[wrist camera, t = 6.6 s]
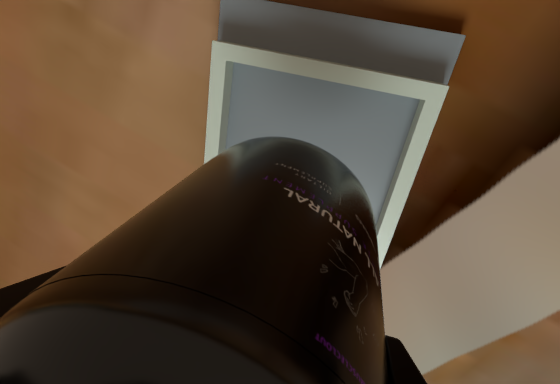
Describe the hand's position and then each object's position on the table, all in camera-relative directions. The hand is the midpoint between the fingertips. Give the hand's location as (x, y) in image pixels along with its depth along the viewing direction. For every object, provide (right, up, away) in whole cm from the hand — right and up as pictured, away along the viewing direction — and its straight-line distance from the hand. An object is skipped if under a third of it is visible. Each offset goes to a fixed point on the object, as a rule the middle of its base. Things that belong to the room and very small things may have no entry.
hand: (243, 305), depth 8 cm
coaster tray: (+3, +5, +12) cm, 13 cm away
